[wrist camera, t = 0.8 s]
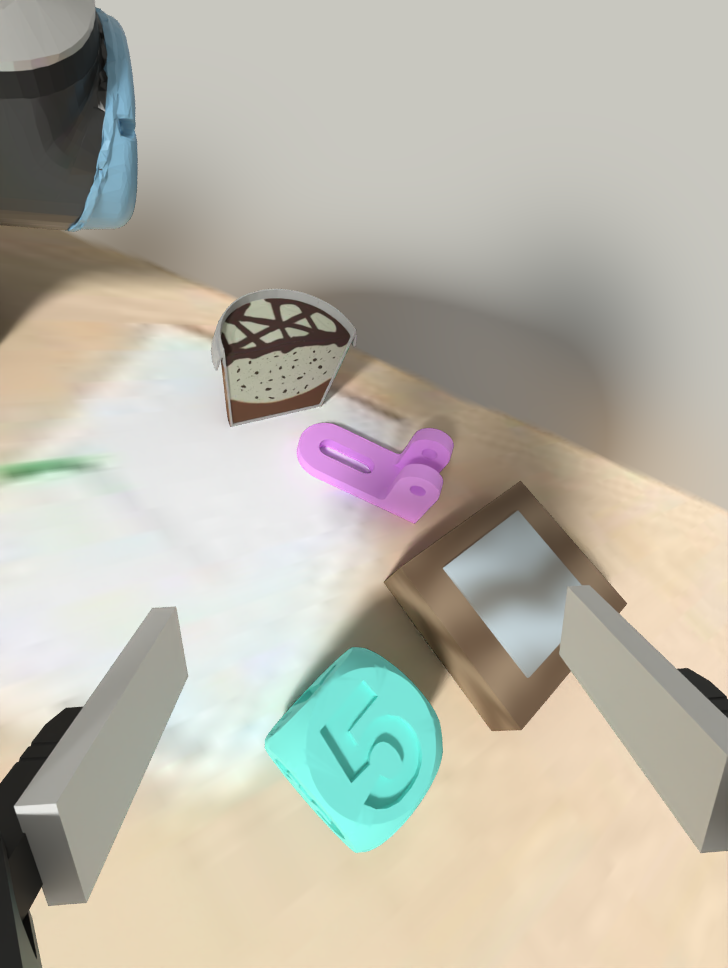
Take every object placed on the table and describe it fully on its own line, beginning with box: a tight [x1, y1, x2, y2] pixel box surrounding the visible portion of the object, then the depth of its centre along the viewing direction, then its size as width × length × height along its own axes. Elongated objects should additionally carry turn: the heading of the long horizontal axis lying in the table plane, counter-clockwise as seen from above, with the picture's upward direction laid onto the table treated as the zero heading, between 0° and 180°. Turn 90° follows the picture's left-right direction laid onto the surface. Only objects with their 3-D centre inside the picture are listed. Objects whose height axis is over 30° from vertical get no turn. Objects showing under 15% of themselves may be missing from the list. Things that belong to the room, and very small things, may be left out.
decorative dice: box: [265, 647, 443, 853], centre depth 28 cm, size 8×8×8 cm
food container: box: [211, 289, 357, 427], centre depth 40 cm, size 12×6×10 cm, turn 117°
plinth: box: [384, 481, 627, 731], centre depth 39 cm, size 14×16×4 cm
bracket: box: [297, 423, 454, 524], centre depth 40 cm, size 13×6×7 cm, turn 70°
